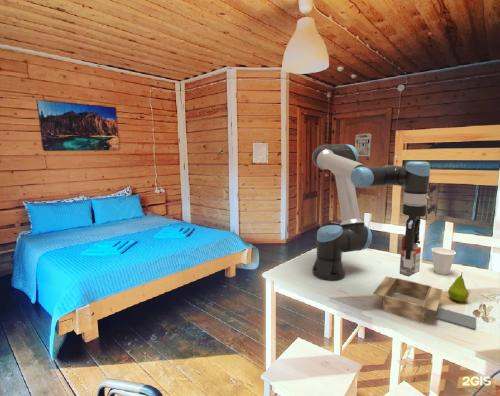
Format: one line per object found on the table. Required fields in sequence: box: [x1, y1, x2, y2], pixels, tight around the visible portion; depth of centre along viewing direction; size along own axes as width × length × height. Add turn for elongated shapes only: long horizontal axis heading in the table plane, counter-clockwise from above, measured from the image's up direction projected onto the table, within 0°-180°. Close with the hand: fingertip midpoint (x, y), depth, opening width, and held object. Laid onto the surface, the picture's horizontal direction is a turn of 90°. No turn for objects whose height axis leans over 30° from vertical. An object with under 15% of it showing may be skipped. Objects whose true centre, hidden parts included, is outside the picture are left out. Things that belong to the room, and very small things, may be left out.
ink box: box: [399, 235, 422, 278], centre depth 109 cm, size 4×8×15 cm, turn 123°
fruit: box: [447, 273, 470, 303], centre depth 114 cm, size 6×6×12 cm
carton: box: [372, 275, 443, 323], centre depth 112 cm, size 20×19×6 cm
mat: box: [436, 307, 477, 331], centre depth 102 cm, size 11×8×1 cm
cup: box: [430, 247, 457, 276], centre depth 140 cm, size 10×10×11 cm
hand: (410, 263), depth 109 cm, fingers closed on ink box, 8 cm apart
